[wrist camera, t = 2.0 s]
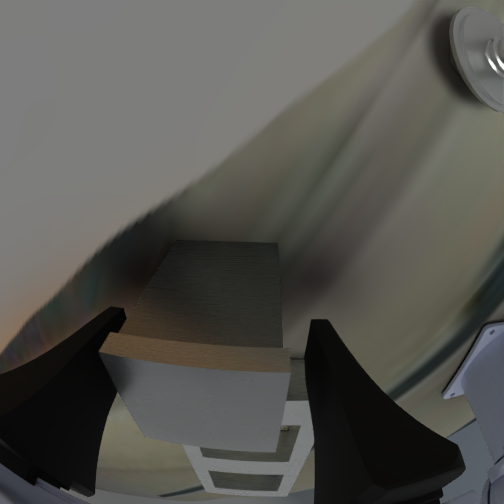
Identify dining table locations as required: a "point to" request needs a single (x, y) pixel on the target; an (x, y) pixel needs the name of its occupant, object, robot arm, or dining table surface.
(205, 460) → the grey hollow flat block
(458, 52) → the screw
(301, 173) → the dining table surface
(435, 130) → the dining table surface
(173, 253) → the grey rectangular block
